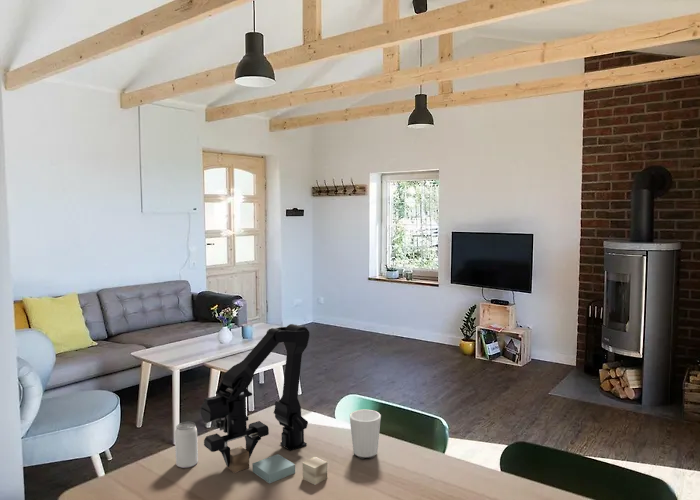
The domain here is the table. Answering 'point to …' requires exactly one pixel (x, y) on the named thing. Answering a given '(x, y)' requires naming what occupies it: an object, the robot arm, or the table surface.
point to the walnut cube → (239, 459)
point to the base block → (273, 468)
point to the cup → (365, 432)
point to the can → (186, 445)
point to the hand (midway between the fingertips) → (237, 463)
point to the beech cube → (314, 470)
